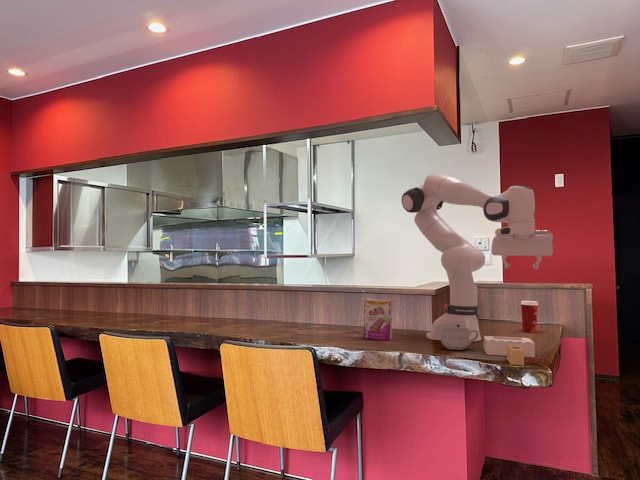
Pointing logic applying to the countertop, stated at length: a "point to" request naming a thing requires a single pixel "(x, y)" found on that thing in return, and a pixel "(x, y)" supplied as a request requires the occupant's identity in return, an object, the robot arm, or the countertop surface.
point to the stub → (515, 354)
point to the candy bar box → (378, 319)
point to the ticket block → (500, 344)
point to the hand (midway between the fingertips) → (521, 268)
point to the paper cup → (529, 315)
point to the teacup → (457, 337)
